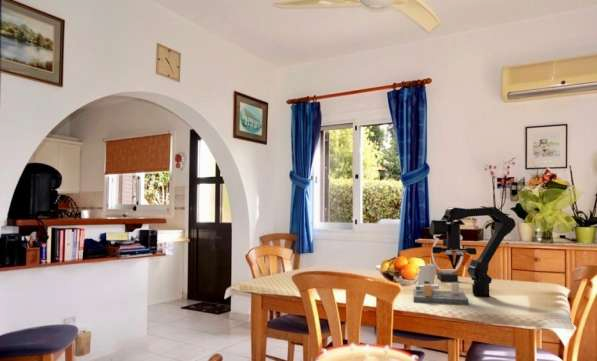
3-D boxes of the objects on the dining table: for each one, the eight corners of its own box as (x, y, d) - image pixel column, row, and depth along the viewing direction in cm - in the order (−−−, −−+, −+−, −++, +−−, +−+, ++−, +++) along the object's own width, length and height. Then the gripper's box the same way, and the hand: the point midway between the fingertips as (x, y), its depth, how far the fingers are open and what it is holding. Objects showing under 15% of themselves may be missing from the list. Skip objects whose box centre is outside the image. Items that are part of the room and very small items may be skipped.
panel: (463, 296, 195) (463, 282, 195) (468, 304, 180) (468, 289, 180) (413, 293, 201) (413, 280, 201) (413, 301, 185) (413, 287, 186)
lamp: (460, 278, 239) (459, 221, 240) (465, 281, 230) (464, 222, 231) (429, 278, 240) (429, 221, 241) (433, 281, 231) (432, 221, 233)
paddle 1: (431, 295, 189) (431, 283, 189) (431, 296, 186) (431, 285, 186) (423, 294, 190) (423, 283, 190) (424, 296, 187) (423, 284, 187)
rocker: (438, 287, 196) (438, 284, 196) (439, 288, 192) (438, 285, 192) (415, 288, 199) (415, 285, 199) (415, 289, 195) (415, 286, 195)
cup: (436, 292, 205) (436, 266, 205) (417, 291, 206) (416, 265, 207) (434, 288, 213) (434, 263, 214) (415, 287, 215) (415, 263, 216)
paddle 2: (458, 292, 193) (458, 281, 194) (459, 294, 191) (459, 282, 191) (451, 292, 194) (451, 281, 194) (451, 293, 191) (451, 282, 192)
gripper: (472, 233, 203) (473, 267, 202) (431, 233, 208) (431, 265, 207) (476, 235, 192) (476, 271, 191) (432, 235, 197) (432, 269, 196)
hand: (454, 269), depth 197 cm, fingers closed
